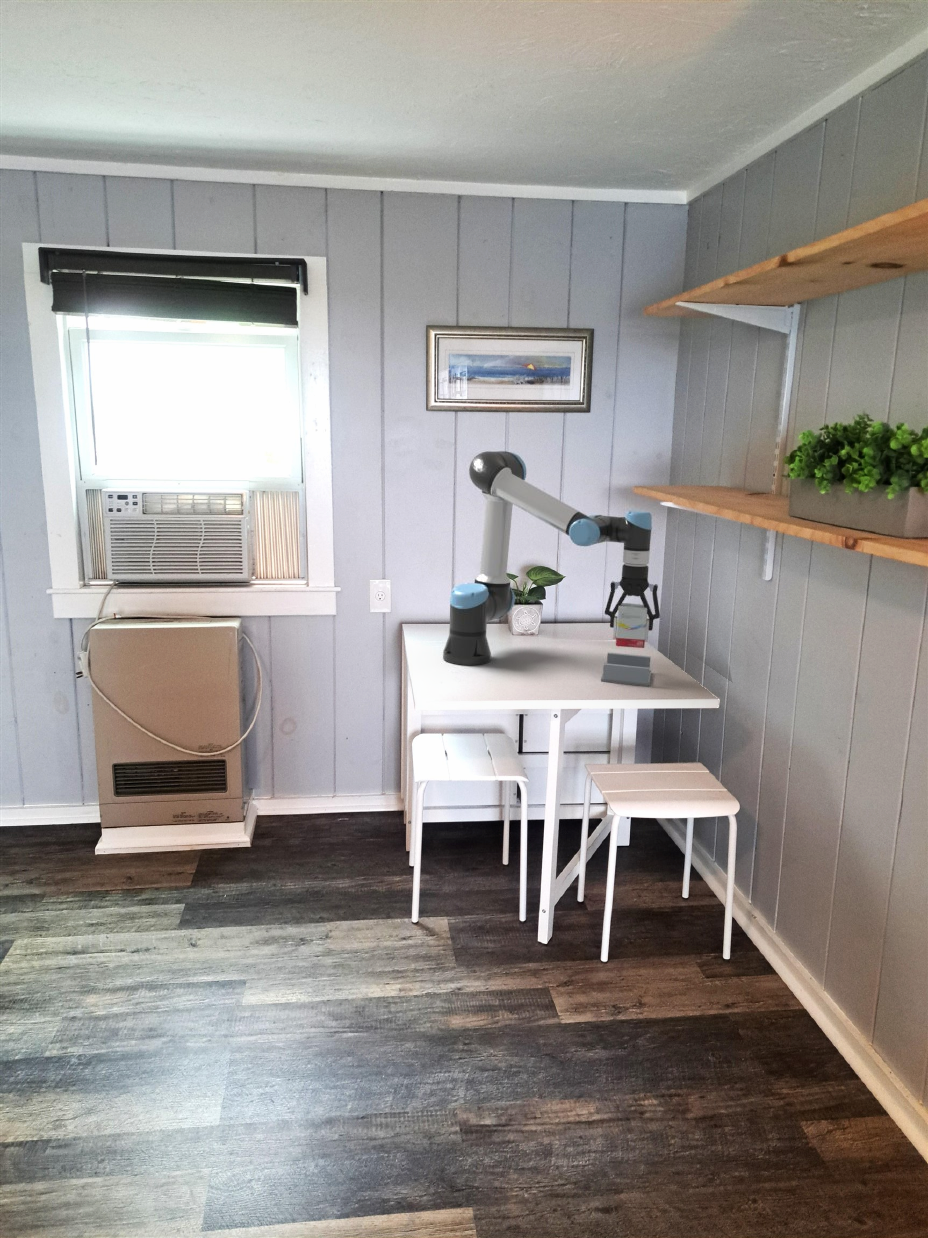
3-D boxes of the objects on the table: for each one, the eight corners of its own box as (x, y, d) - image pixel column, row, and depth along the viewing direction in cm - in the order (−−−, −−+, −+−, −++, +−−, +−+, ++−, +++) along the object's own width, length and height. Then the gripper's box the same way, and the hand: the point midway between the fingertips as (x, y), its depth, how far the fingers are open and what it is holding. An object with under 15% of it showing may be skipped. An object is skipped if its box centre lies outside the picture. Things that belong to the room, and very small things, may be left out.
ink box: (644, 648, 246) (647, 608, 243) (615, 646, 247) (617, 606, 245) (644, 641, 254) (647, 603, 251) (615, 639, 255) (618, 601, 253)
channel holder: (600, 681, 247) (602, 664, 246) (605, 668, 262) (606, 652, 261) (649, 686, 244) (650, 669, 243) (650, 672, 258) (652, 656, 257)
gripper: (597, 563, 244) (592, 639, 249) (673, 568, 240) (667, 645, 244) (599, 560, 252) (595, 634, 256) (673, 564, 247) (667, 639, 251)
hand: (630, 639), depth 250 cm, fingers closed on ink box, 9 cm apart
